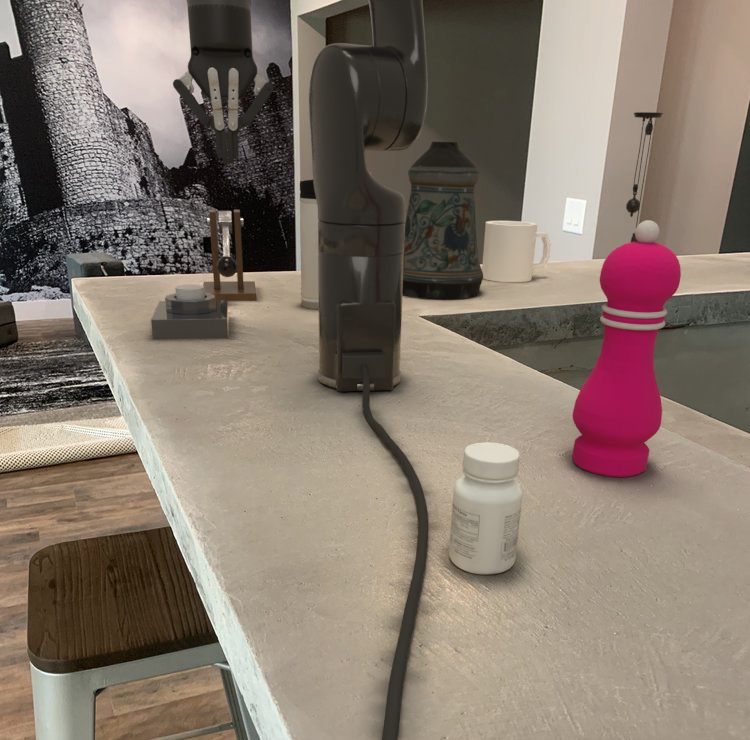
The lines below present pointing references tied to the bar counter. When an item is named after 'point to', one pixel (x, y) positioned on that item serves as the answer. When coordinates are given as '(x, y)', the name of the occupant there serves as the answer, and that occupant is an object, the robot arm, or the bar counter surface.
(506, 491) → the pill bottle
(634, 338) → the pepper mill
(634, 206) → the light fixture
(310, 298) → the travel mug
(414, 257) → the beer stein
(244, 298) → the pendulum stand
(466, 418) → the bar counter surface
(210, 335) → the button base
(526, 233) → the mug
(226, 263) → the flush lever
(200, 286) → the flush button
